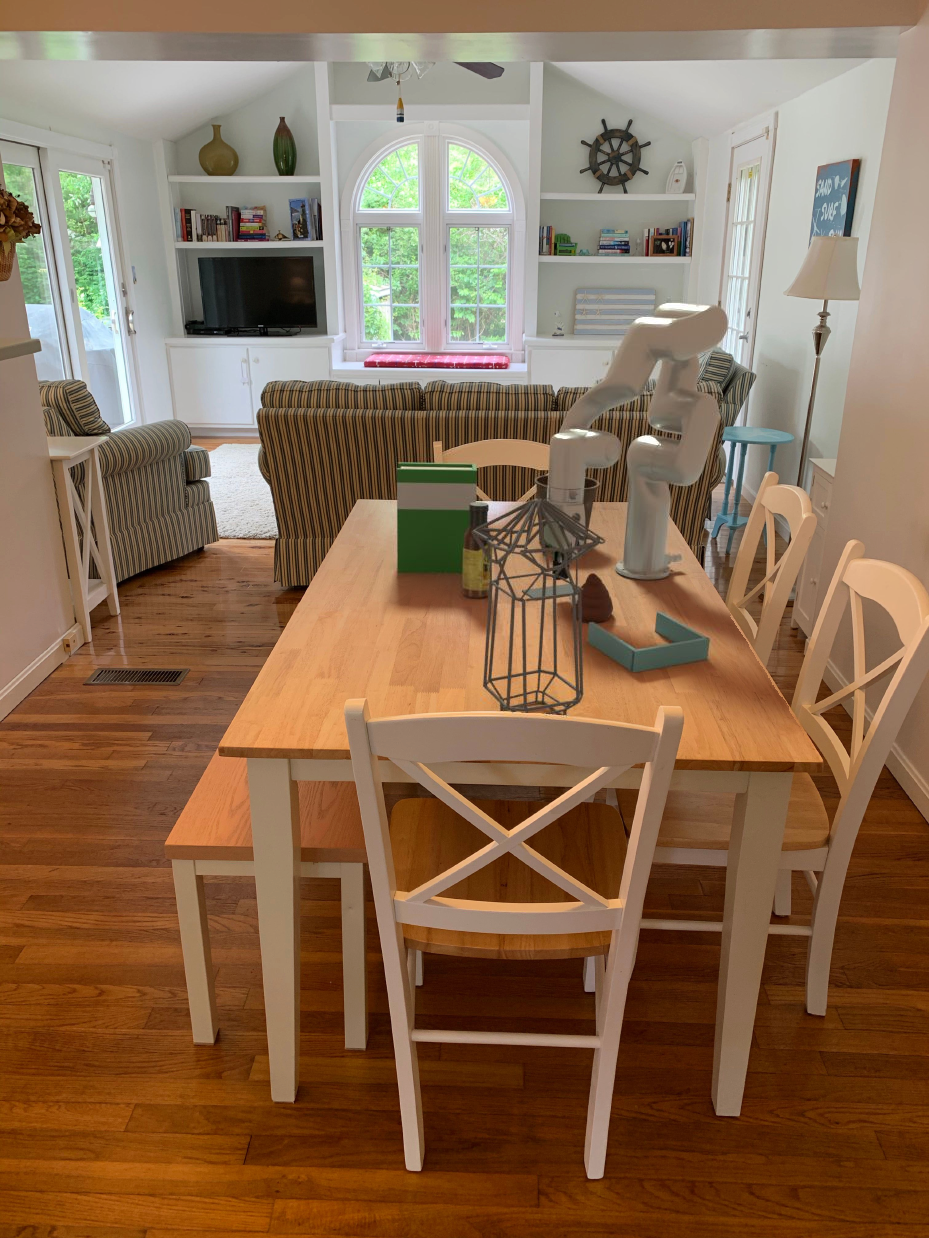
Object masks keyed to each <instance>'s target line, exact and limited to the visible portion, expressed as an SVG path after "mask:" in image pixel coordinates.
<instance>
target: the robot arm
mask: <svg viewBox="0 0 929 1238" xmlns="http://www.w3.org/2000/svg"><path fill="white" fill-rule="evenodd" d="M728 327H729V320H728V315H727V313H726V312H725V310H724V309H723V308H722V307H721V306H719V305H716V304H707V303H705V304H704V303H693V302H692V303H691V302H665V303H663V304H661V305H659V306H658V307H657V308H656V309H655V310H654V313H653V316H645V317H639V318H637V319H635V320H634V321H632V323H631V324H630V325H629V327H628V329H627V331H626V333H624V334H625V335H624V336H623V339H622V341H621V343H620V345H619V346H618V349H617V352H616V354H615V356H614V357H613V360H612V362H611V363H610V366H609V368H608V369H607V372H606V374H605V376H604V378H602V380H600V381H599V382H598V383H597V384H595V385H593V386H592V387H591V388H589V390H587V391H586V392H585V393H584V394H583V395H581V396H580V397H579V398H578V399H577V400H576V401H575V402H574V403H573V405H572V406H571V407H570V409H569V410H568V412H567V414H566V416H565V418H564V420H563V423H562V425H561V426H560V429H559V432H558V433H555V434H554V435H552V436H551V438H550V441H549V452H548V453H549V454H548V455H549V456H548V472H547V473H548V474H547V475H548V489H547V501H548V502H550V503H551V504H553V505H554V506H556V507H557V508H559V509H560V510H562V511H563V512H564V513H566V514H567V515H569V516H570V517H572V518H573V519H575V520H576V521H578V522H579V523H581V524H582V525H584V526H585V510H584V504H583V497H584V482H585V477H586V469H607V468H610V467H611V466H614V465H615V464H616V463H617V462H618V461H619V459H620V458H621V455H622V450H623V446H622V442H621V440H620V439H619V438H618V437H617V436H616V435H615V434H613V433H611V432H609V431H605V430H599V429H595V428H590V427H591V426H592V424H593V423H594V422H595V420H596V419H597V418H598V417H600V416H601V415H602V414H603V413H605V412H607V411H609V410H611V409H613V408H617V407H619V406H623V405H625V404H627V403H630V402H633V401H635V400H637V399H639V398H640V397H641V396H642V394H643V392H644V390H645V388H646V386H647V384H648V381H649V379H650V377H651V375H652V373H653V371H654V369H655V366H656V365H657V364H658V361H659V362H660V361H661V366H660V370H659V374H658V378H657V381H656V383H655V386H654V390H653V393H652V396H651V400H650V403H649V405H648V406H649V407H648V410H647V422H648V424H649V425H650V426H651V427H652V428H653V429H655V430H659V431H663V432H665V433H672V434H677V435H681V438H680V440H679V439H675V438H671V437H670V438H669V437H666V436H660V435H652V434H647V435H642V436H639V437H637V438H635V439H634V440H633V441H632V442H631V444H630V445H629V447H628V449H627V454H626V464H627V465H626V466H627V473H628V474H627V476H628V498H627V506H626V507H627V509H626V510H627V511H626V520H625V534H624V544H623V554H622V560H620V561H618V562H617V563H616V564H615V572H617V573H618V574H619V575H621V576H623V577H627V578H630V579H636V580H646V581H647V580H648V581H650V580H653V581H654V580H661V579H665V578H667V577H669V576H670V574H671V567H670V566H669V565H670V564H671V563H679V562H681V561H682V559H683V558H682V557H683V556H682V554H681V553H672V554H671V553H670V552H669V551H667V550H666V549H667V540H668V539H667V538H668V529H669V520H670V519H669V518H670V509H671V500H672V499H671V493H670V489H669V485H668V484H671V485H675V486H681V487H687V486H691V485H694V483H695V482H697V481H698V480H699V478H700V476H701V474H702V473H703V470H704V468H705V465H706V462H707V459H708V456H709V453H710V449H711V447H712V443H713V441H714V437H715V435H716V432H717V428H718V424H719V421H720V409H719V403H718V401H717V399H716V398H715V397H714V396H713V395H712V394H709V393H707V392H703V391H696V388H697V384H698V380H699V377H700V373H701V364H700V363H701V362H700V360H699V357H698V355H700V354H702V353H704V352H706V351H709V350H710V349H713V348H714V347H716V346H717V345H719V343H720V342H722V340H723V339H724V337H725V336H726V334H727V331H728ZM560 513H561V512H560ZM546 514H547V513H546ZM563 515H564V514H563ZM547 516H548V518H549V519H550V521H554V520H553V519H552V518H551V517H550V516H549V515H548V514H547ZM566 517H567V516H566ZM567 518H568V517H567ZM569 519H570V518H569ZM570 520H571V519H570ZM571 521H573V520H571ZM573 522H574V521H573ZM574 523H576V522H574ZM551 524H552V526H553V528H554V530H555V532H556V534H557V535H558V537H559V539H560V541H561V543H562V545H563V547H564V549H567V548H568V546H567V544H566V542H565V540H564V537H563V535H562V533H561V531H560V529H559V526H558V524H557V523H553V522H551ZM576 524H577V523H576ZM577 525H578V526H580V525H579V524H577ZM580 527H581V528H583V527H582V526H580ZM563 529H564V528H563ZM583 529H584V530H585V528H583ZM564 531H565V533H566V536H567V538H568V540H569V542H570V544H571V546H572V547H574V545H575V541H576V538H575V537H573V535H572V534H570V533H569V532H568V531H566V530H565V529H564ZM576 531H577V530H576ZM577 532H578V531H577ZM578 533H579V534H581V533H580V532H578ZM581 535H583V534H581ZM544 539H545V541H546V542H547V545H548V546H547V547H548V548H558V547H559V545H558V544H557V542H556V540H555V538H554V536H553V534H552V532H551V530H550V528H549V526H548V524H547V525H546V526H545V527H544ZM583 544H584V541H582V540H579V539H578V543H577V546H579V545H583ZM578 550H580V551H582V550H583V548H582V549H578ZM578 550H575V551H576V552H578ZM666 551H667V552H666ZM568 553H569V552H567V554H568ZM574 556H575V554H573V553H572V554H571V555H570V557H569V558H568V560H570V559H571V558H573V557H574ZM551 558H552V567H555V566H559V565H561V564H562V562H563V560H564V554H563V553H562V551H553V552H551ZM568 560H567V561H568ZM567 566H568V568H569V569H570V564H569V565H567ZM556 571H557V570H554V571H551V574H555V573H556ZM558 575H559V576H561V577H563V578H565V579H566V580H569V578H568V575H567V572H566V570H565V567H564V568H562V569H561V571H560V572H559V574H558ZM551 578H552V579H553V577H551ZM556 581H561V579H560V578H558V577H556Z"/></svg>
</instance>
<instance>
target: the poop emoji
mask: <svg viewBox="0 0 929 1238" xmlns="http://www.w3.org/2000/svg"><path fill="white" fill-rule="evenodd" d="M578 586H579V585H578ZM579 587H581V588H583V589H584V590H583V591H581V604H582V623H583V622H584V623H588V624H589V622H594V623H595V624H599V623H603V622H605V621H607V620H608V619H609V618H610V616H611V614H612V613H613V611H614V604H613V601H612V600H613V599H612V598H611V596H610V592H609V590H608V589H607V587H606V585H605V583H603V580H602V579H601V578H600V577H599V576H598V575H597V574H596V573H593V572H592V573H589V574H588V576H587V578H586V579H585V582H584V583H583V584H582V585H581V586H579ZM575 597H576V621H578V595H575ZM569 601H570V602H571V603H572V595H571V596H569ZM570 610H571V614H572V616H573V612H572V607H571V608H570Z"/></svg>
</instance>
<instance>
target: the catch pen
mask: <svg viewBox="0 0 929 1238" xmlns="http://www.w3.org/2000/svg"><path fill="white" fill-rule="evenodd" d="M654 632H656V633H657V634H659V635H660V636H662V637H664V638H666V639H667V640H669V641H671V642H672V643H666V644H660V645H655V646H650V647H649V646H648V647H643V648H635V647H633V646H632V645H630V644H629V643H627V642H625V641H624V640H622V639H621V638H619V637H617V636H615V635H614V634H613V633H611V632H610V631H608V630H606V629H605V628H604V627H602V626H600V625H598V623H594V622H589V623H588V633H587V643H588V644H590V645H591V646H593V647H594V648H596V649H597V650H599V651H600V652H602V653H603V654H605V655H606V656H607V657H609V658H611V659H612V660H613V661H615V662H617V663H618V664H620V665H621V666H623V667H624V668H625V669H627V670H629V671H630V672H632V673H639V672H645V671H649V670H651V671H652V670H655V669H660V668H666V667H671V666H677V665H682V664H688V663H692V662H693V663H694V662H699V661H704V660H708V659H709V658H708V657H709V648H710V640H711V639H710V637H708V636H706V635H704V634H703V633H701V632H699V631H697V630H696V629H693V628H691V627H689V626H688V625H686V624H684V623H682V622H680V621H678V620H677V619H675V618H673V617H671V616H669V615H667V614H665V613H664V612H662V611H657V612H656V615H655V626H654Z"/></svg>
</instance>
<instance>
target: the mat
mask: <svg viewBox="0 0 929 1238" xmlns="http://www.w3.org/2000/svg"><path fill="white" fill-rule="evenodd" d="M526 590H527V589H522V590H521V592H522V593H523V594H524V593H525V592H526ZM572 592H573V588H572V586H571V584H569V583H565V584H558V585H557V584H556V595H560V594H567V593H572ZM552 595H553V585H551V586H546V592H545V596H552ZM526 596H528V597H530V598H536V597H542V587H534V588H530V590H529V591H528V592H527V594H526Z"/></svg>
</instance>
